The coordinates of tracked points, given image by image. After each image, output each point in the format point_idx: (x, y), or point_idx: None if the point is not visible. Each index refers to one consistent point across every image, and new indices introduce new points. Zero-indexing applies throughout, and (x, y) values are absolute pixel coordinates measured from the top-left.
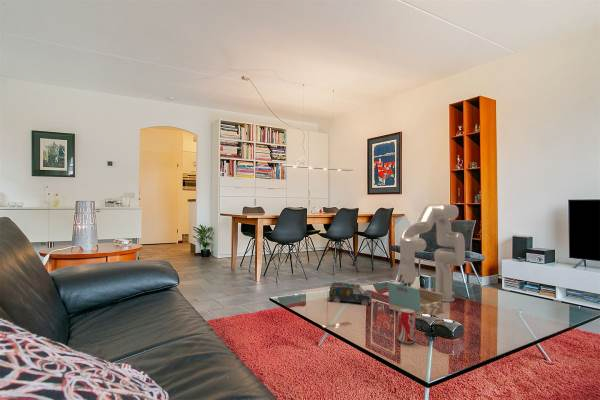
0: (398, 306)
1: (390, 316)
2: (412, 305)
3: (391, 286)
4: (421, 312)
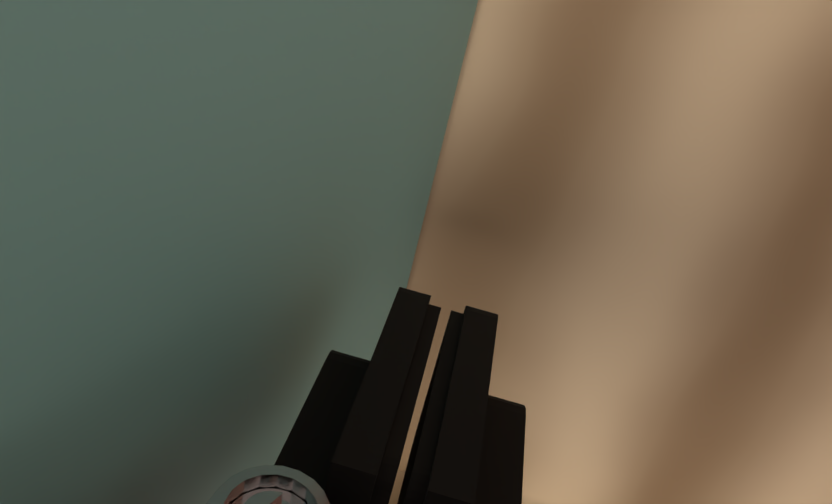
0: None
1: None
2: None
3: None
4: None
